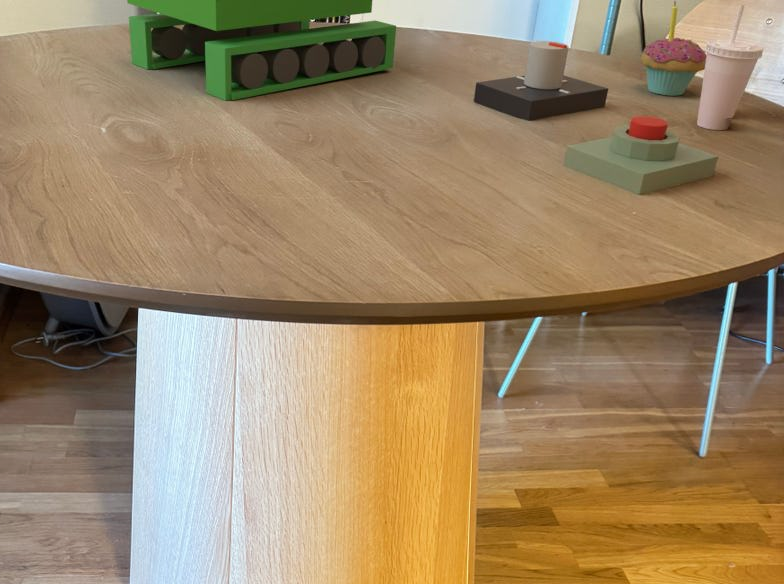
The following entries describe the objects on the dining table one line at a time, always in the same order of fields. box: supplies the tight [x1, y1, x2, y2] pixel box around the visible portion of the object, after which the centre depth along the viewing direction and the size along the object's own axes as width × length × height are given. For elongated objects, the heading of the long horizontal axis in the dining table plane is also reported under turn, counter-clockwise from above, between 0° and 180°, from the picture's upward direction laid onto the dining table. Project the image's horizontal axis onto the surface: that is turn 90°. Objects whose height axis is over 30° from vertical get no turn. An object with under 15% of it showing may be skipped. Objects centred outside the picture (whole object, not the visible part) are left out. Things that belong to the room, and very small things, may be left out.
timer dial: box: [524, 40, 569, 90], centre depth 112 cm, size 5×5×5 cm
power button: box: [628, 115, 669, 140], centre depth 91 cm, size 4×4×2 cm
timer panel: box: [473, 74, 609, 122], centre depth 114 cm, size 14×10×3 cm
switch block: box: [563, 124, 719, 196], centre depth 92 cm, size 12×10×4 cm
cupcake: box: [640, 0, 707, 97], centre depth 120 cm, size 9×8×12 cm
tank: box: [126, 0, 397, 101], centre depth 124 cm, size 24×35×16 cm
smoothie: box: [696, 4, 765, 131], centre depth 106 cm, size 6×6×14 cm
